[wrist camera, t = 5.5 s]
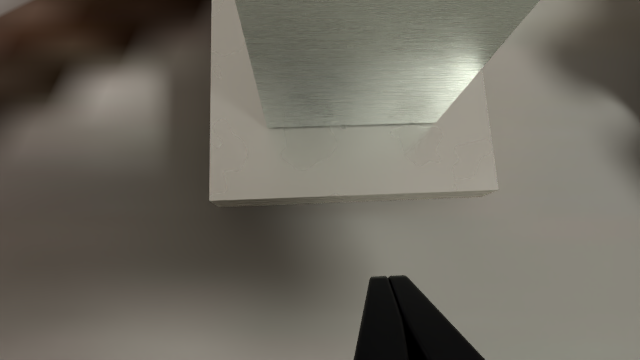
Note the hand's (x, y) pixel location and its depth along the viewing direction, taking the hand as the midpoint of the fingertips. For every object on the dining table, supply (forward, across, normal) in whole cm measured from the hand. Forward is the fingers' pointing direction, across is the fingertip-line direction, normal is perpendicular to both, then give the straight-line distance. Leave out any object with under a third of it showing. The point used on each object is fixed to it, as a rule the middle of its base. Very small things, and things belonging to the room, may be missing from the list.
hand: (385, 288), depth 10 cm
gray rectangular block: (+10, 0, -1) cm, 11 cm away
